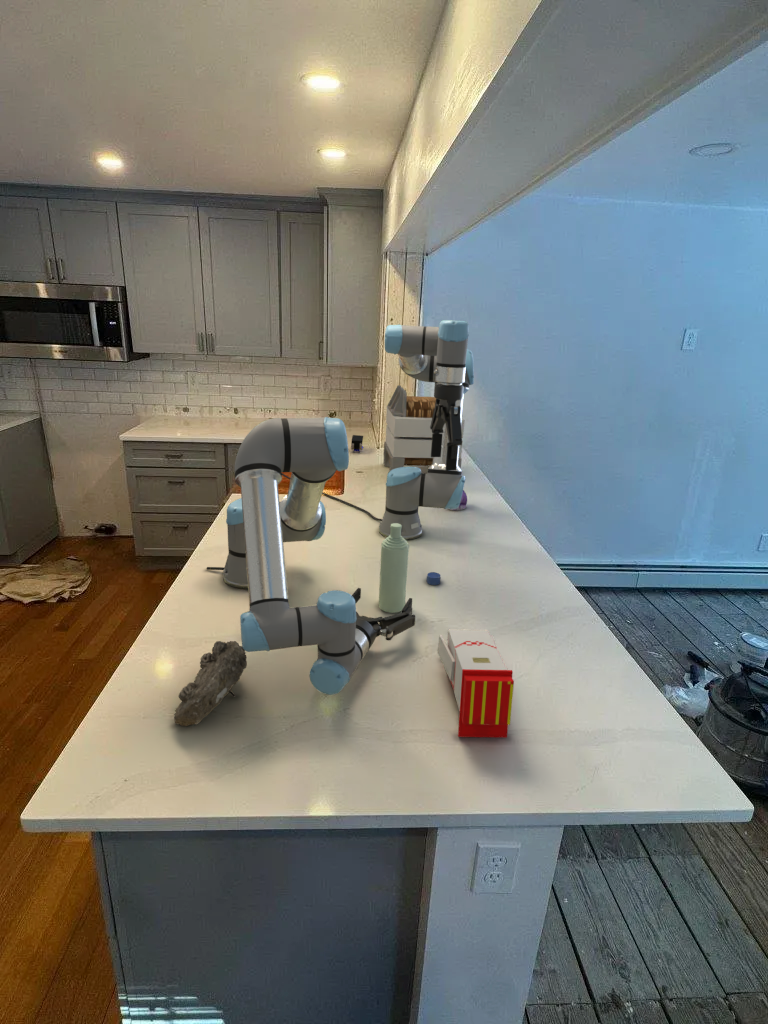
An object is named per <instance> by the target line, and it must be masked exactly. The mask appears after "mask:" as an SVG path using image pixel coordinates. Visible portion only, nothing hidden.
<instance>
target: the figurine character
mask: <svg viewBox="0 0 768 1024" xmlns="http://www.w3.org/2000/svg"><path fill="white" fill-rule="evenodd" d="M363 441H364V435H360V434H359V435H357V434H352V435H351V443H350V450H351V451H352V450H353V451H352V453H355V452H358V454H360V453H361V451H362V450H363V448H364V446H363V443H364V442H363Z"/></svg>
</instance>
